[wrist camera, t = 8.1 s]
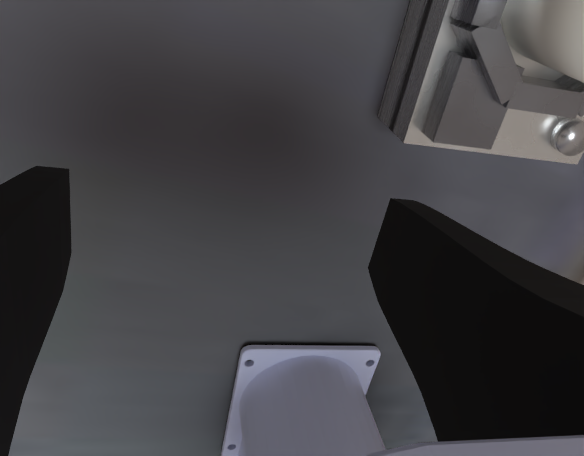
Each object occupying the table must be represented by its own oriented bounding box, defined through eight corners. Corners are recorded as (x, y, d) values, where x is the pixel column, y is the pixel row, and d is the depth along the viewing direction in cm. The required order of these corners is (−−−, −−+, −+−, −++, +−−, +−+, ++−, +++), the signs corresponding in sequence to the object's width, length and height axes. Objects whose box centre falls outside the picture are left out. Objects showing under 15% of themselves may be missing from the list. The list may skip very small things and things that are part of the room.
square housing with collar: (534, 137, 24) (602, 180, 20) (377, 116, 21) (419, 159, 18) (649, -116, 19) (768, -124, 15) (460, -176, 17) (542, -201, 13)
